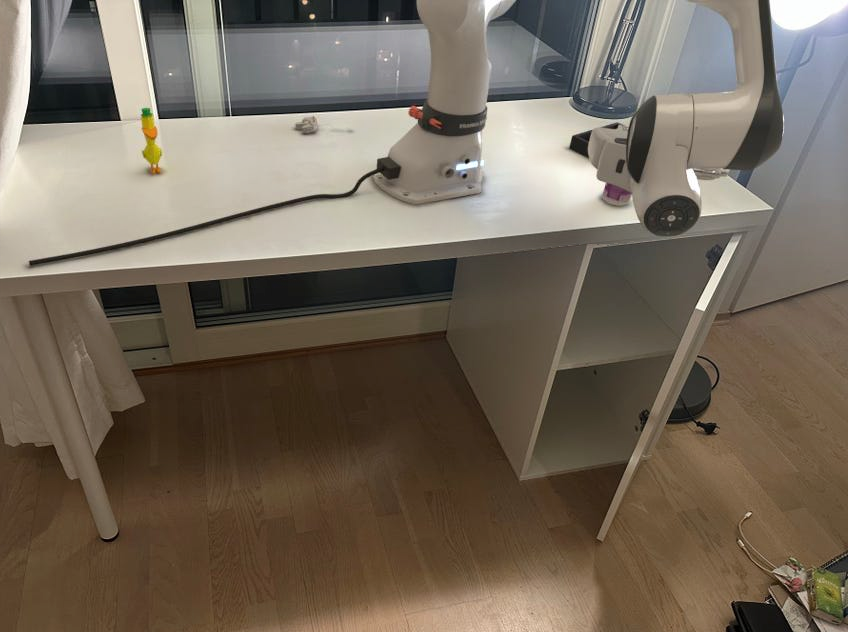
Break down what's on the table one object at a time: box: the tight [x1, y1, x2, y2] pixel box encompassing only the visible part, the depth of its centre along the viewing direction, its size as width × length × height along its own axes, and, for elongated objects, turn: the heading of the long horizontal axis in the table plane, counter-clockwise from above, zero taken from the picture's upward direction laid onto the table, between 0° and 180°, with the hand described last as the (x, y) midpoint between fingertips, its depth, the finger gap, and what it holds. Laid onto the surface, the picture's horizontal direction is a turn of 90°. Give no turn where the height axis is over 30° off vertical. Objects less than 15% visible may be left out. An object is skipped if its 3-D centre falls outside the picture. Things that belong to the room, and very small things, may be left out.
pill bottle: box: [601, 182, 632, 207], centre depth 134 cm, size 5×5×10 cm
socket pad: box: [568, 121, 629, 160], centre depth 155 cm, size 8×15×3 cm, turn 126°
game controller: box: [294, 115, 350, 134], centre depth 154 cm, size 6×12×3 cm, turn 109°
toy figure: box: [140, 107, 163, 175], centre depth 131 cm, size 7×4×12 cm, turn 24°
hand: (650, 133), depth 116 cm, fingers open, 8 cm apart
